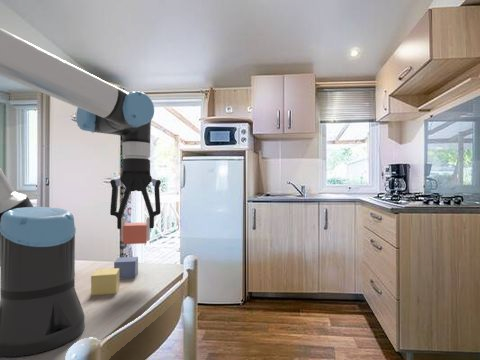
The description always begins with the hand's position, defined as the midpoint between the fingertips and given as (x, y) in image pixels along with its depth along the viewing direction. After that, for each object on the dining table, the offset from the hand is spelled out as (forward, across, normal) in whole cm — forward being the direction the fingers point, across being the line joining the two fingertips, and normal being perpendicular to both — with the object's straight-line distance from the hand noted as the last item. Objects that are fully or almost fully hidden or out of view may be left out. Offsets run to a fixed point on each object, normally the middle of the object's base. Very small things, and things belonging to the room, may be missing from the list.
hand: (135, 240), depth 90 cm
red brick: (0, 0, 0) cm, 0 cm away
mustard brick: (+12, +7, +4) cm, 15 cm away
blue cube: (+12, +4, -9) cm, 15 cm away
